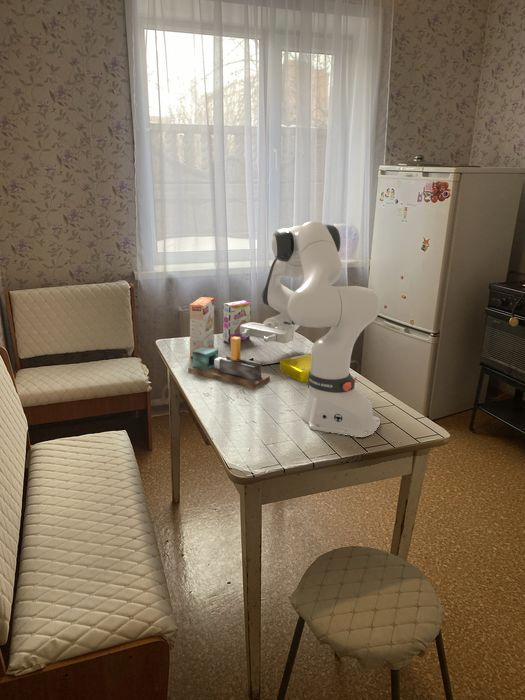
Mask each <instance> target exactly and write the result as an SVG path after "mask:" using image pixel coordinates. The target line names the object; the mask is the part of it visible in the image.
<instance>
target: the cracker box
mask: <svg viewBox="0 0 525 700" xmlns="http://www.w3.org/2000/svg"><path fill="white" fill-rule="evenodd" d="M214 334H215V298H214V297H205V296H201V297H199V298H197V299H196V300H194V301H193V302H191V303H190V304H189V357H191V358H193V351H194V350H197V349H199V348H202V347H204V346H206V347H210V348H214V346H215V345H214V344H215V342H214V340H215V335H214Z"/></svg>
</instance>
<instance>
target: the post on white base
mask: <svg viewBox="0 0 525 700" xmlns="http://www.w3.org/2000/svg"><path fill="white" fill-rule="evenodd" d="M241 343H242V341H241V338H240V337H232V338H231V343H230V356H231V360H230V359H227V358H224V357H220V356H218V358H216V359H214V367H215V368H219V369H220V359H221V358H222V359H226V360H230V361H234V362H239V363H242V362H240V358H241V349H242V348H241ZM243 364H246V363H243ZM247 365H248V364H247Z"/></svg>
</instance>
